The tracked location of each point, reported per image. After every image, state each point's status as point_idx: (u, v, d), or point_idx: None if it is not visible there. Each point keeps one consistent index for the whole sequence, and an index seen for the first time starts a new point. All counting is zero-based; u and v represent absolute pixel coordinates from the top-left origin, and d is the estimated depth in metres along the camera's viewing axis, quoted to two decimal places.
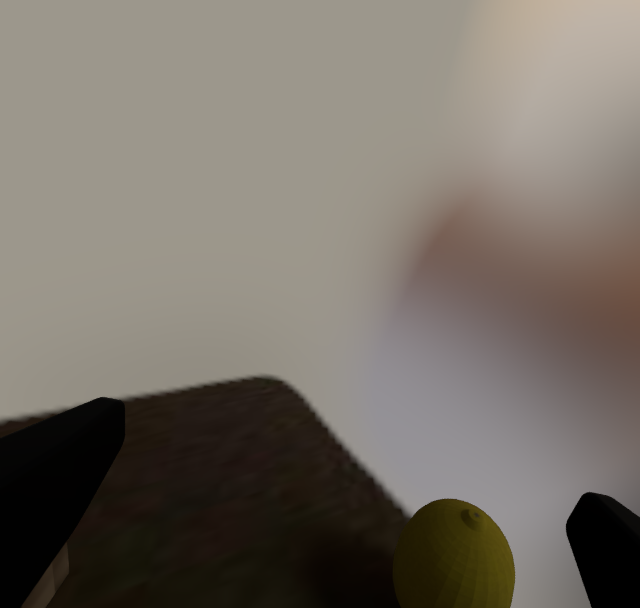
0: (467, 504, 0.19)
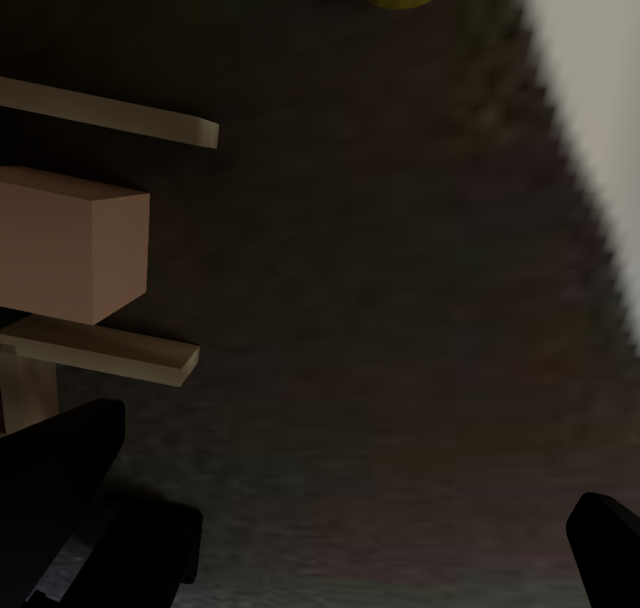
0: None
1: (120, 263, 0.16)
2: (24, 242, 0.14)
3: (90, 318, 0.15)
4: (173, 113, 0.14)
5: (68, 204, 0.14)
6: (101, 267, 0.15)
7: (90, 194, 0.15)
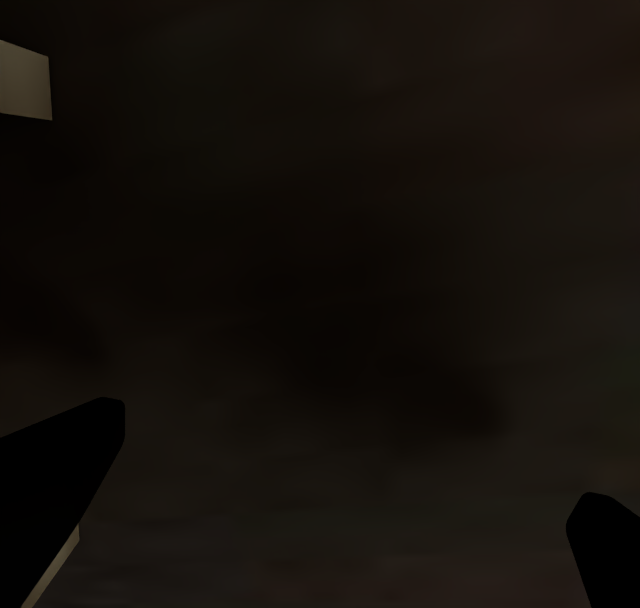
0: None
1: None
2: None
3: None
4: None
5: None
6: None
7: None
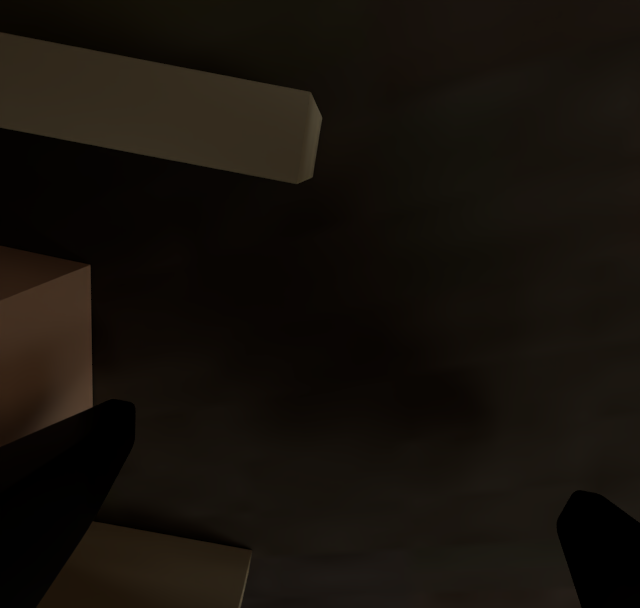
0: None
1: None
2: None
3: None
4: (226, 81, 0.04)
5: None
6: None
7: None
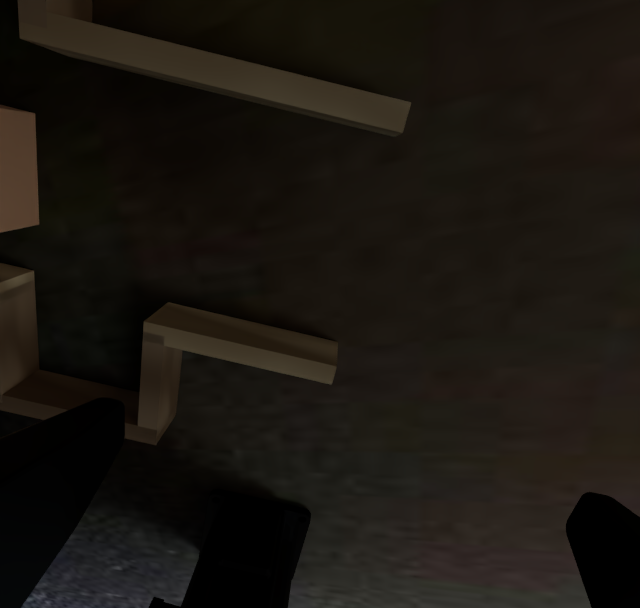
0: None
1: None
2: None
3: None
4: (384, 97, 0.13)
5: None
6: None
7: None
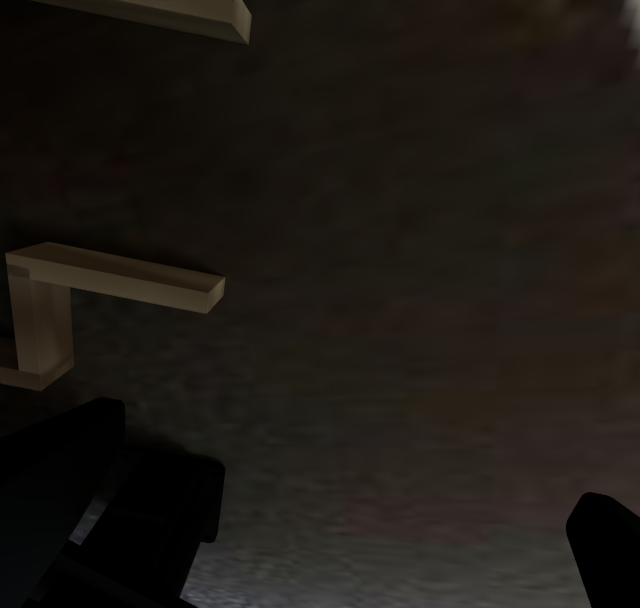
0: None
1: None
2: None
3: None
4: None
5: None
6: None
7: None
